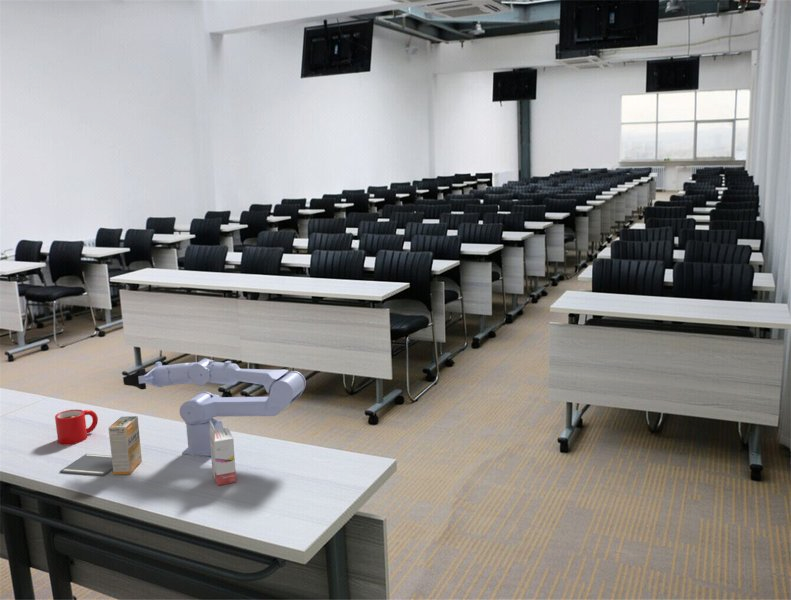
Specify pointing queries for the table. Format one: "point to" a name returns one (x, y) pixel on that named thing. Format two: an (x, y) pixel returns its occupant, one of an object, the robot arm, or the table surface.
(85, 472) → the mat
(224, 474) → the ink cartridge box
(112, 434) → the supplement box
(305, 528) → the table surface
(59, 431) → the mug
